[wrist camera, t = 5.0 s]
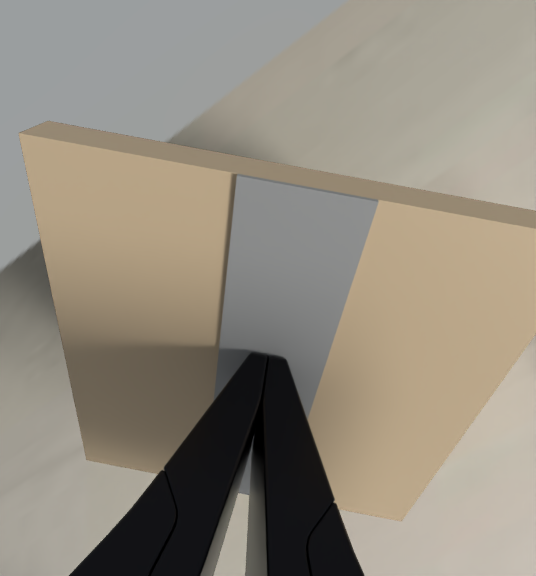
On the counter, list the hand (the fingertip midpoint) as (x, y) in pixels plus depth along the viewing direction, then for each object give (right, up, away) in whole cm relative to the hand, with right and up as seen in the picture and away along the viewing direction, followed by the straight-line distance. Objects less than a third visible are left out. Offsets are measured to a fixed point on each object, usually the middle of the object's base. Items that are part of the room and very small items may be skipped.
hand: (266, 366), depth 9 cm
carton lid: (0, 0, +1) cm, 1 cm away
